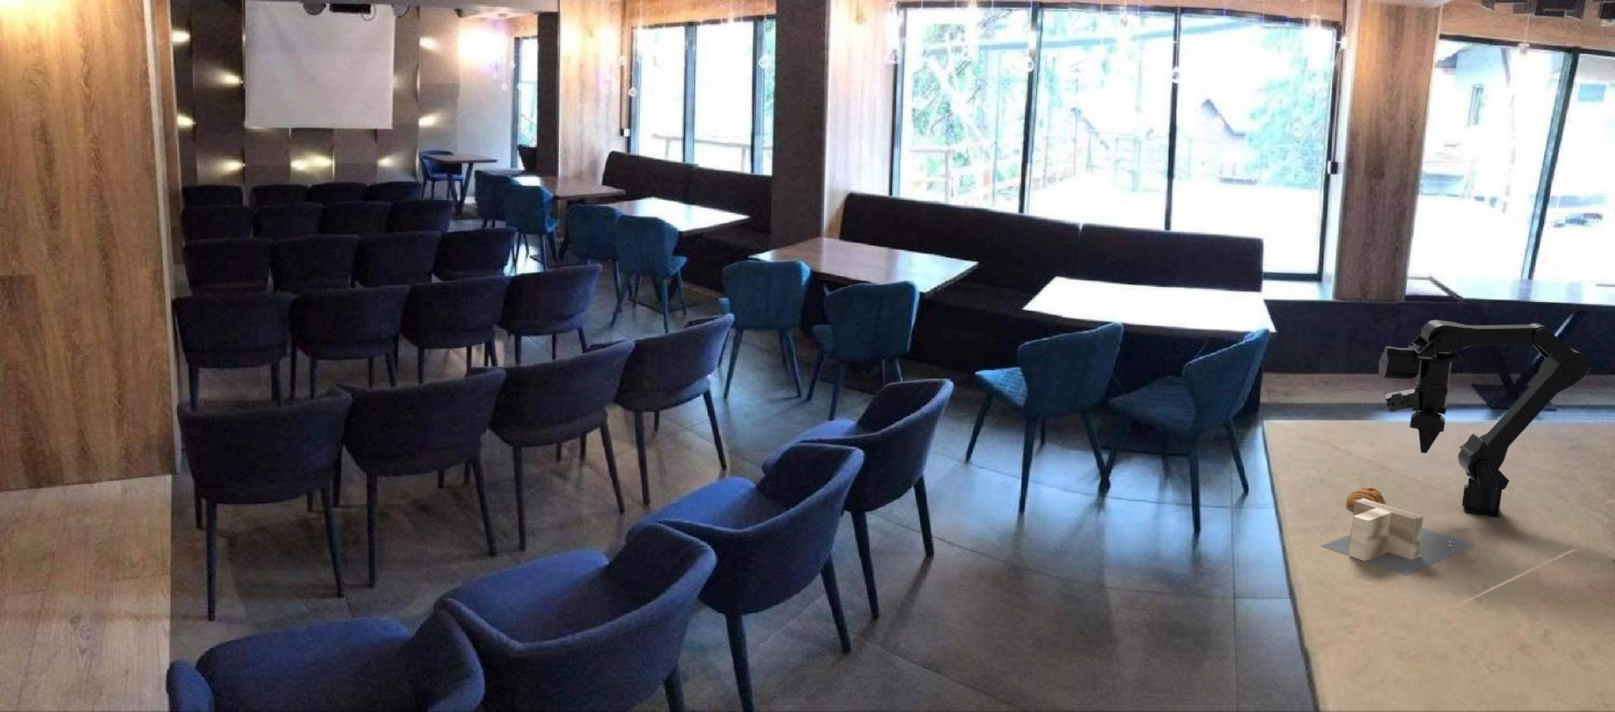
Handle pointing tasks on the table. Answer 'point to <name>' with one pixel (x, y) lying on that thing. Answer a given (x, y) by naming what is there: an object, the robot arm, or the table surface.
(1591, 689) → the table surface
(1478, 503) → the robot arm
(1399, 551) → the t block
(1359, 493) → the pastry
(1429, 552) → the mat
